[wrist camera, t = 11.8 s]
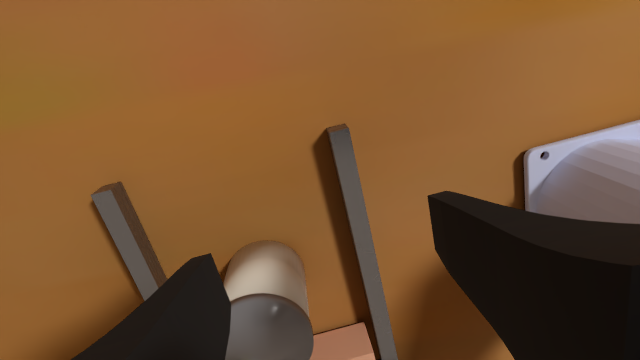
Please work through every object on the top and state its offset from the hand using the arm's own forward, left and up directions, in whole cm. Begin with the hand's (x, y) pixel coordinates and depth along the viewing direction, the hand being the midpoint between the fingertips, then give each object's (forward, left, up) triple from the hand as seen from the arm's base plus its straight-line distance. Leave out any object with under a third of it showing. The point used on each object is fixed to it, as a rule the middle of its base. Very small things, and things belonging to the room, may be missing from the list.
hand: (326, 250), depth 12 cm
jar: (+4, +6, -8) cm, 11 cm away
